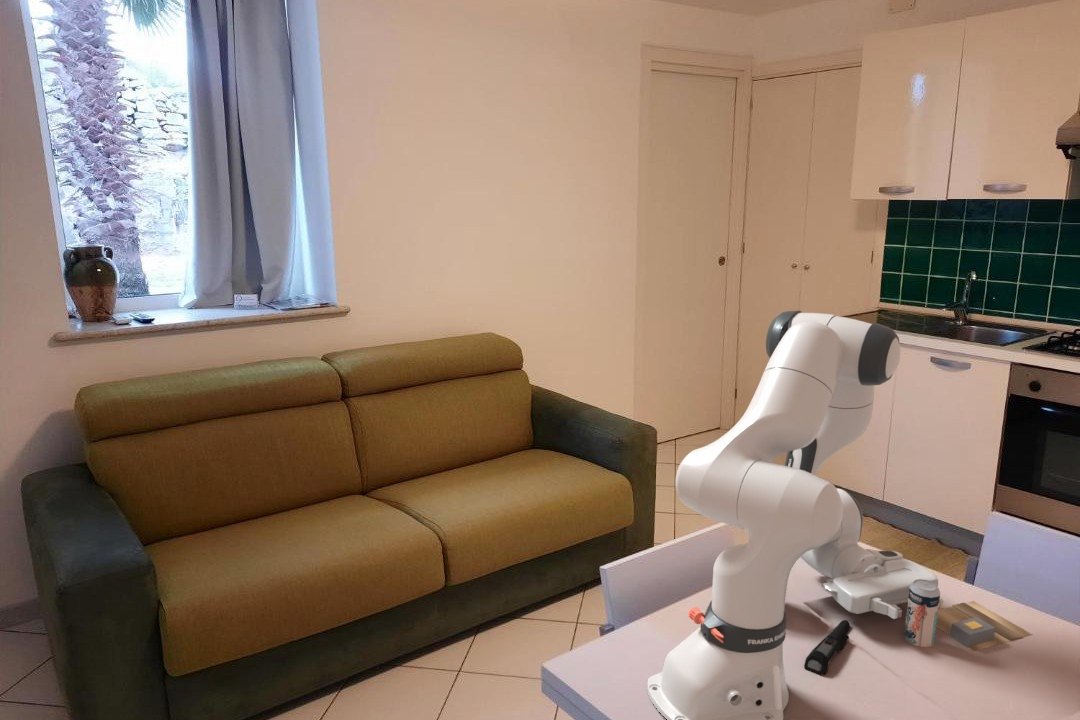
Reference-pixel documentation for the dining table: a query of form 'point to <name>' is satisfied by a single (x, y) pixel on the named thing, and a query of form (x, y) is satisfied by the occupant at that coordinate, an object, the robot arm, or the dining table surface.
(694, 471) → the robot arm
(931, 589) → the beer can
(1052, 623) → the dining table surface
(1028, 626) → the dining table surface
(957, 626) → the grey box with label
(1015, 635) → the subfloor panel
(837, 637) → the electric trimmer
